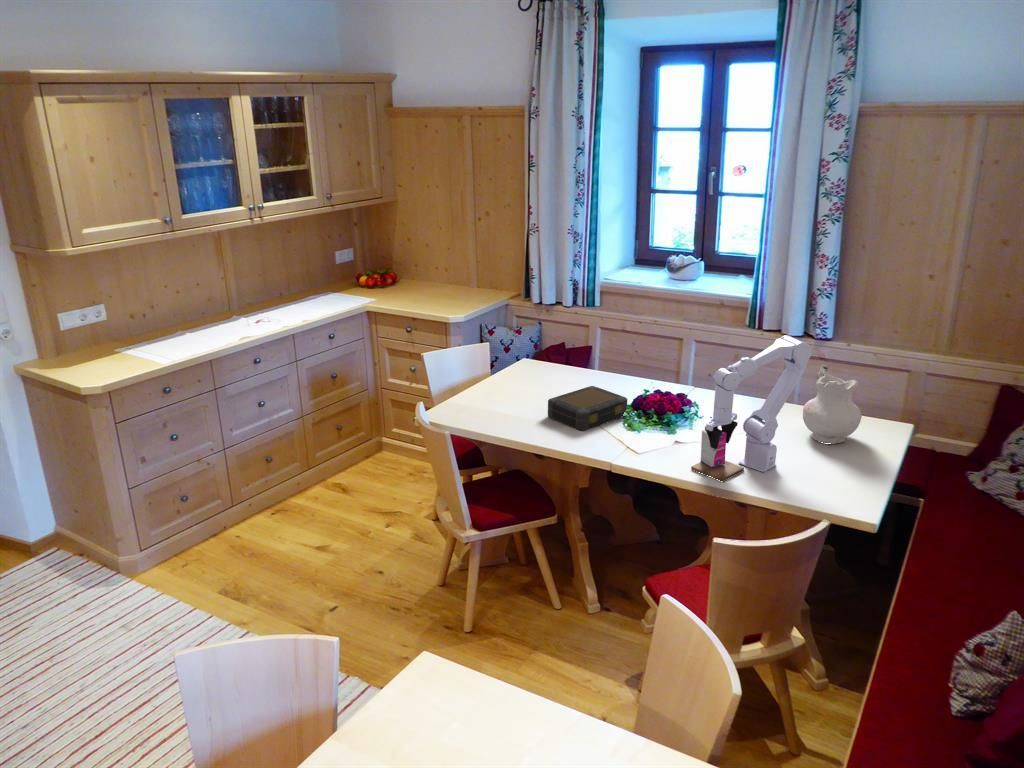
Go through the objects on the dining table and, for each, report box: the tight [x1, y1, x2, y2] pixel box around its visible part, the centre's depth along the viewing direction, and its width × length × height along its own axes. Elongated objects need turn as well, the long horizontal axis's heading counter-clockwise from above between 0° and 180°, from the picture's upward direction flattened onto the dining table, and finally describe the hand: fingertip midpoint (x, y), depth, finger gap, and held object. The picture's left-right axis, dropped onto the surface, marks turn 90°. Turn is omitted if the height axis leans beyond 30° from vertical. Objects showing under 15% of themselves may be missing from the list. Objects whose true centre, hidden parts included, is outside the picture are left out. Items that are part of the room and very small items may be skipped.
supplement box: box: [700, 429, 727, 468], centre depth 258 cm, size 6×6×12 cm
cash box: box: [547, 385, 628, 432], centre depth 302 cm, size 25×20×8 cm
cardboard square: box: [690, 460, 745, 482], centre depth 258 cm, size 12×12×2 cm
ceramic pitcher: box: [802, 363, 863, 445], centre depth 279 cm, size 22×20×25 cm
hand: (719, 445), depth 255 cm, fingers closed on supplement box, 6 cm apart
